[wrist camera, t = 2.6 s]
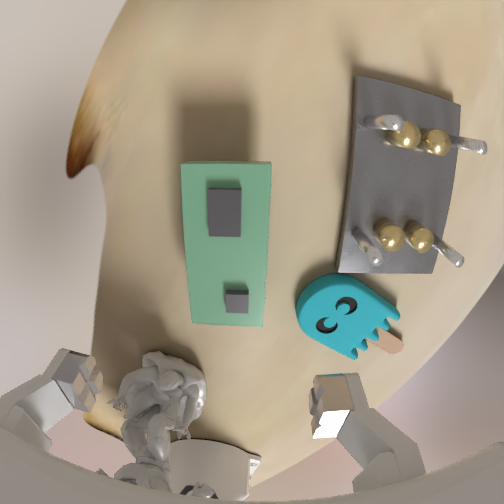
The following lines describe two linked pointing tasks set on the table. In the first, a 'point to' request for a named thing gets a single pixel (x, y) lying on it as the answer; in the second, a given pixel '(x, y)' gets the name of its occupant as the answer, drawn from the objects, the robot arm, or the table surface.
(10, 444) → the robot arm
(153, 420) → the figurine
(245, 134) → the table surface
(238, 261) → the board
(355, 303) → the toy
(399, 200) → the chassis
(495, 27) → the table surface
